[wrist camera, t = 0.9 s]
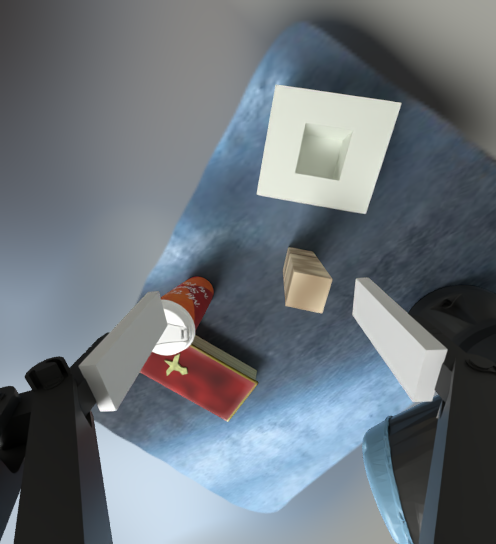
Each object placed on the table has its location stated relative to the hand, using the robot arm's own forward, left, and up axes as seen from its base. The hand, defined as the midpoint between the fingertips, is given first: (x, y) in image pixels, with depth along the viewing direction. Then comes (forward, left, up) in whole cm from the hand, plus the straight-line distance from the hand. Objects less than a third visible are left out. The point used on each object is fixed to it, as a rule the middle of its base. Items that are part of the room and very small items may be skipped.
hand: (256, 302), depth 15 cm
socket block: (-4, -13, -23) cm, 27 cm away
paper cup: (+11, +11, -23) cm, 28 cm away
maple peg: (-5, +2, -23) cm, 24 cm away
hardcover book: (+9, +27, -24) cm, 37 cm away
